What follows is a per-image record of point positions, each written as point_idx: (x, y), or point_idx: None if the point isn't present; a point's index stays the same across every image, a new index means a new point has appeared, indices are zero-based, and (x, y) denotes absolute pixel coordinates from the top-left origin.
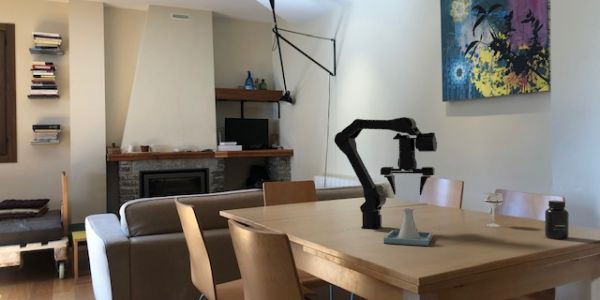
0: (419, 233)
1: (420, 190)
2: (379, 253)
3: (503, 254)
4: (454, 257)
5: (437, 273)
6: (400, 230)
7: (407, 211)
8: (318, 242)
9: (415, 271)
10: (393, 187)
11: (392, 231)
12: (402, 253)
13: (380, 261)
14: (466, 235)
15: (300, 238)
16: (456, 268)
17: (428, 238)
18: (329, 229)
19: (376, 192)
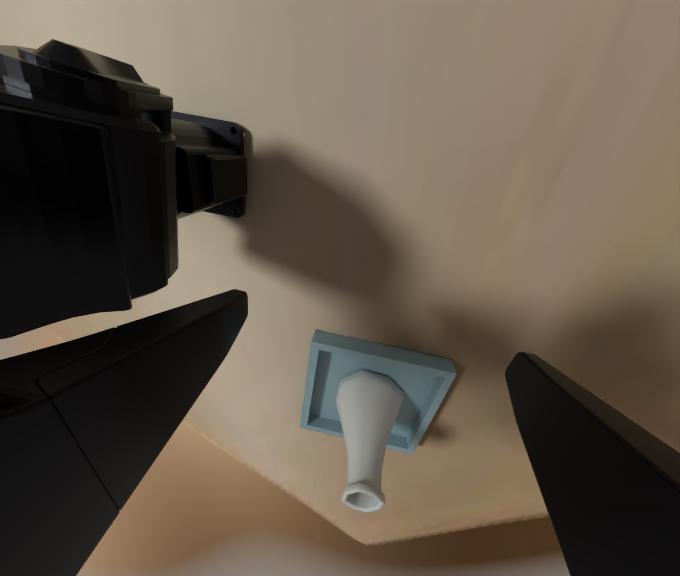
0: (408, 367)
1: (530, 437)
2: (306, 470)
3: None
4: (446, 499)
5: (394, 540)
6: (341, 420)
7: (358, 499)
8: None
9: (365, 532)
10: (190, 396)
11: (315, 358)
12: None
13: (314, 500)
14: (616, 318)
15: None
16: (428, 533)
17: (420, 438)
18: None
19: (61, 313)
